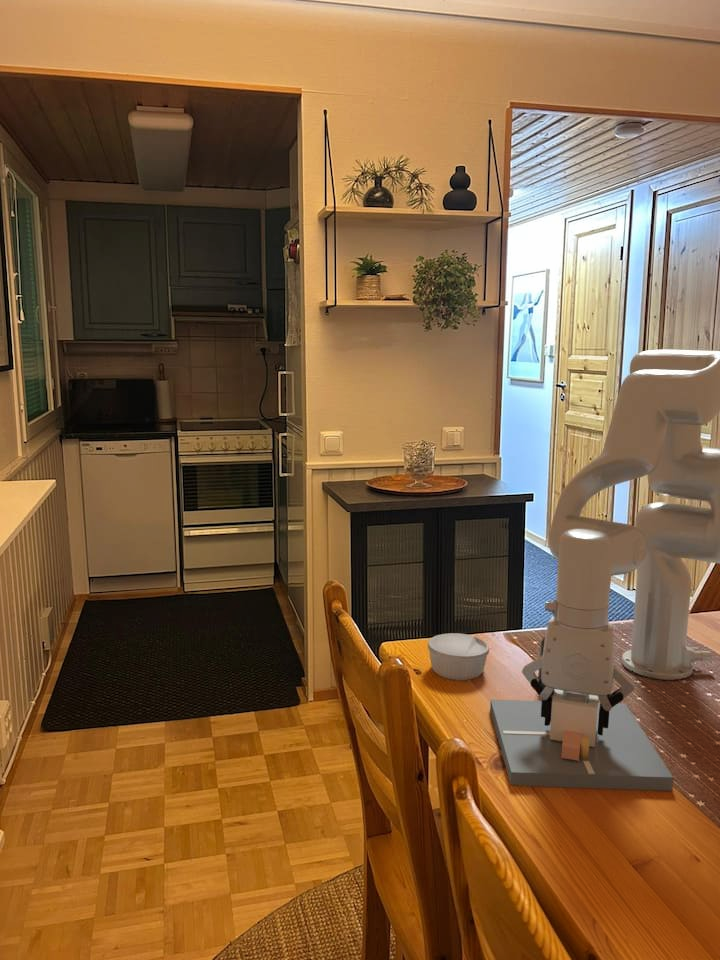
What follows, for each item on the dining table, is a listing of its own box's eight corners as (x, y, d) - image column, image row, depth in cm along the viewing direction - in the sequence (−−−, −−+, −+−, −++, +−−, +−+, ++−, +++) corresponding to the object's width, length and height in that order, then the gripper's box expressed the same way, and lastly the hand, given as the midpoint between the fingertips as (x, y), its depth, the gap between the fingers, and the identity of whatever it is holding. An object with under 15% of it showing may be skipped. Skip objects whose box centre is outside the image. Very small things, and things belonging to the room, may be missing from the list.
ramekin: (497, 680, 140) (498, 653, 139) (439, 686, 137) (440, 658, 136) (473, 656, 151) (474, 630, 150) (419, 661, 148) (420, 635, 147)
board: (624, 714, 127) (628, 665, 126) (672, 790, 106) (677, 732, 104) (490, 710, 128) (492, 661, 127) (510, 785, 106) (513, 727, 105)
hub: (553, 719, 120) (555, 683, 119) (596, 726, 118) (598, 690, 117) (546, 755, 110) (549, 716, 109) (593, 763, 108) (596, 723, 107)
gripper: (517, 614, 113) (511, 727, 116) (644, 630, 107) (634, 749, 110) (525, 598, 119) (519, 705, 123) (644, 613, 114) (635, 725, 117)
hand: (574, 725), depth 116 cm, fingers open, 7 cm apart
